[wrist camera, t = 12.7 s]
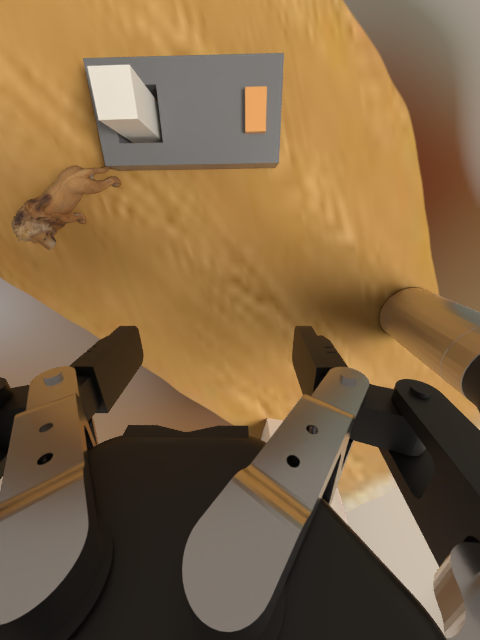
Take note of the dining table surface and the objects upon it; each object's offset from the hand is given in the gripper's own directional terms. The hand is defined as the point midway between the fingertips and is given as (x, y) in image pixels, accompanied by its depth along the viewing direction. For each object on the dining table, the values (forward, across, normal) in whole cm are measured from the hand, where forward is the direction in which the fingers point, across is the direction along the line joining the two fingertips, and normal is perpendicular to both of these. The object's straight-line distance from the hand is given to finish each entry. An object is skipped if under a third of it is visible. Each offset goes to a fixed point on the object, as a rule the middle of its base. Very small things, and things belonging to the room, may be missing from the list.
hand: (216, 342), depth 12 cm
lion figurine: (+28, +22, -8) cm, 36 cm away
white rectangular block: (+28, +11, -17) cm, 35 cm away
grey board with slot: (+28, +5, -17) cm, 33 cm away
